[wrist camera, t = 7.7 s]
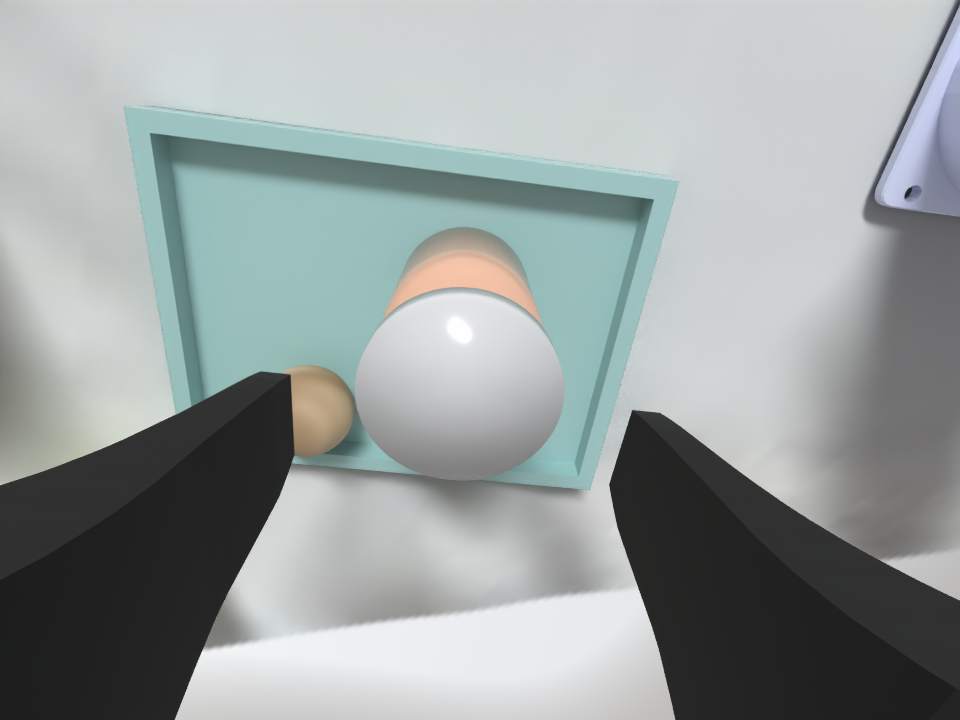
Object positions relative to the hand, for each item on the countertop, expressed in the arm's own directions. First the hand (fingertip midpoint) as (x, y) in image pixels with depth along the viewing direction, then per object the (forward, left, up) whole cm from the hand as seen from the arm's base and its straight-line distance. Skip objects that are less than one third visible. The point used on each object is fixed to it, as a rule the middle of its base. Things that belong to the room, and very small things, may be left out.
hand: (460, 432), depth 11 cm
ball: (+5, +4, -8) cm, 10 cm away
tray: (+2, +1, -8) cm, 9 cm away
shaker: (0, 0, -8) cm, 8 cm away
